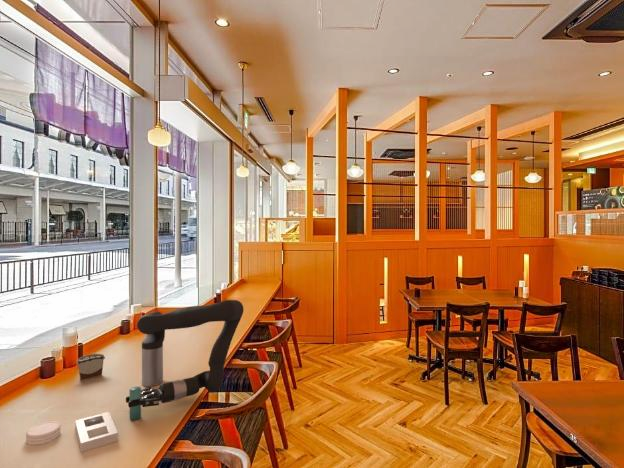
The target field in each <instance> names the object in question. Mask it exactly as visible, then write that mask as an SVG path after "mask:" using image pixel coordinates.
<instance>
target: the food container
mask: <svg viewBox="0 0 624 468" xmlns="http://www.w3.org/2000/svg"><path fill="white" fill-rule="evenodd" d="M104 359H106V356H105V355H104V354H102V353H93V354H92V353H91V354H86V355H83V356H81V357H79V358H78V359H77V360H76V366H78V374H79V381H81V382H82V381H85V380H90V379H94V378H97V377H102V376H103V368H104Z"/></svg>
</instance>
